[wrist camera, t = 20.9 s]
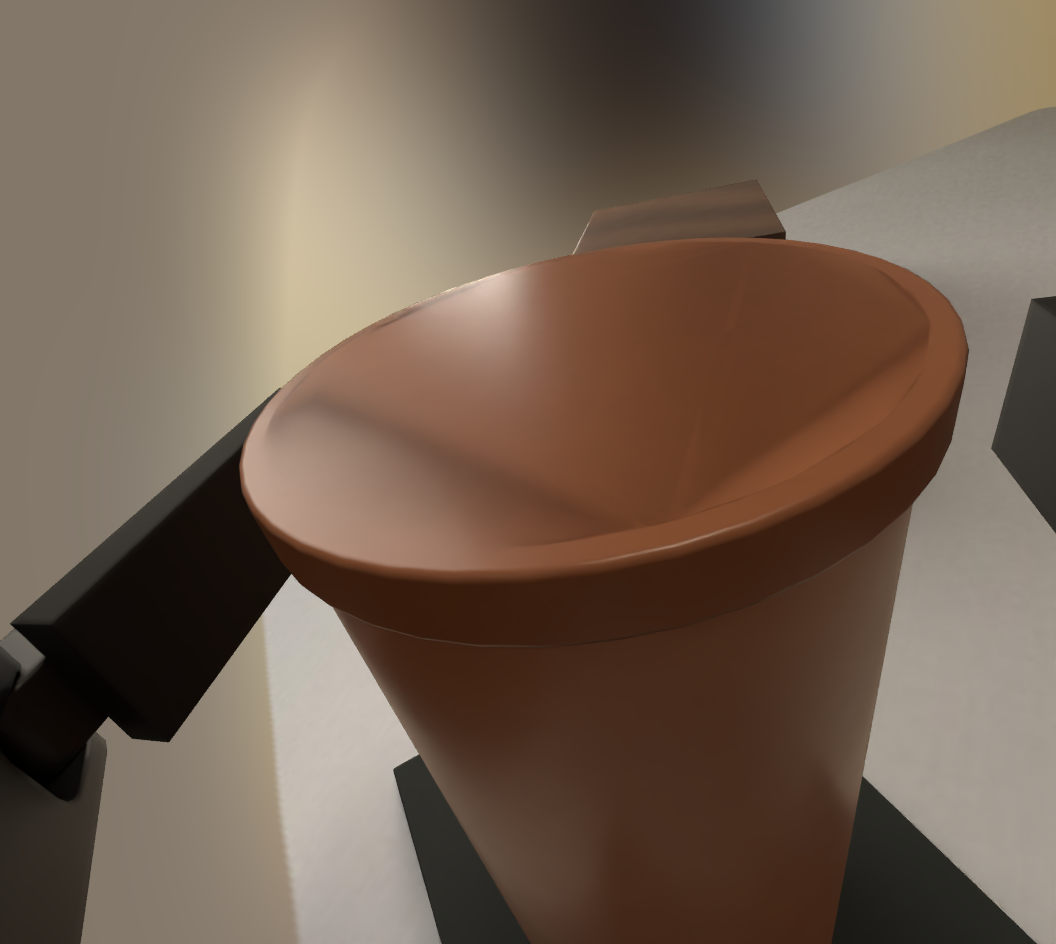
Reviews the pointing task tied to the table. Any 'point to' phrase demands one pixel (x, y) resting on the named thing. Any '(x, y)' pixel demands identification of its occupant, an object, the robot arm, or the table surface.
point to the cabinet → (686, 218)
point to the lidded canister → (629, 562)
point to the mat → (864, 906)
